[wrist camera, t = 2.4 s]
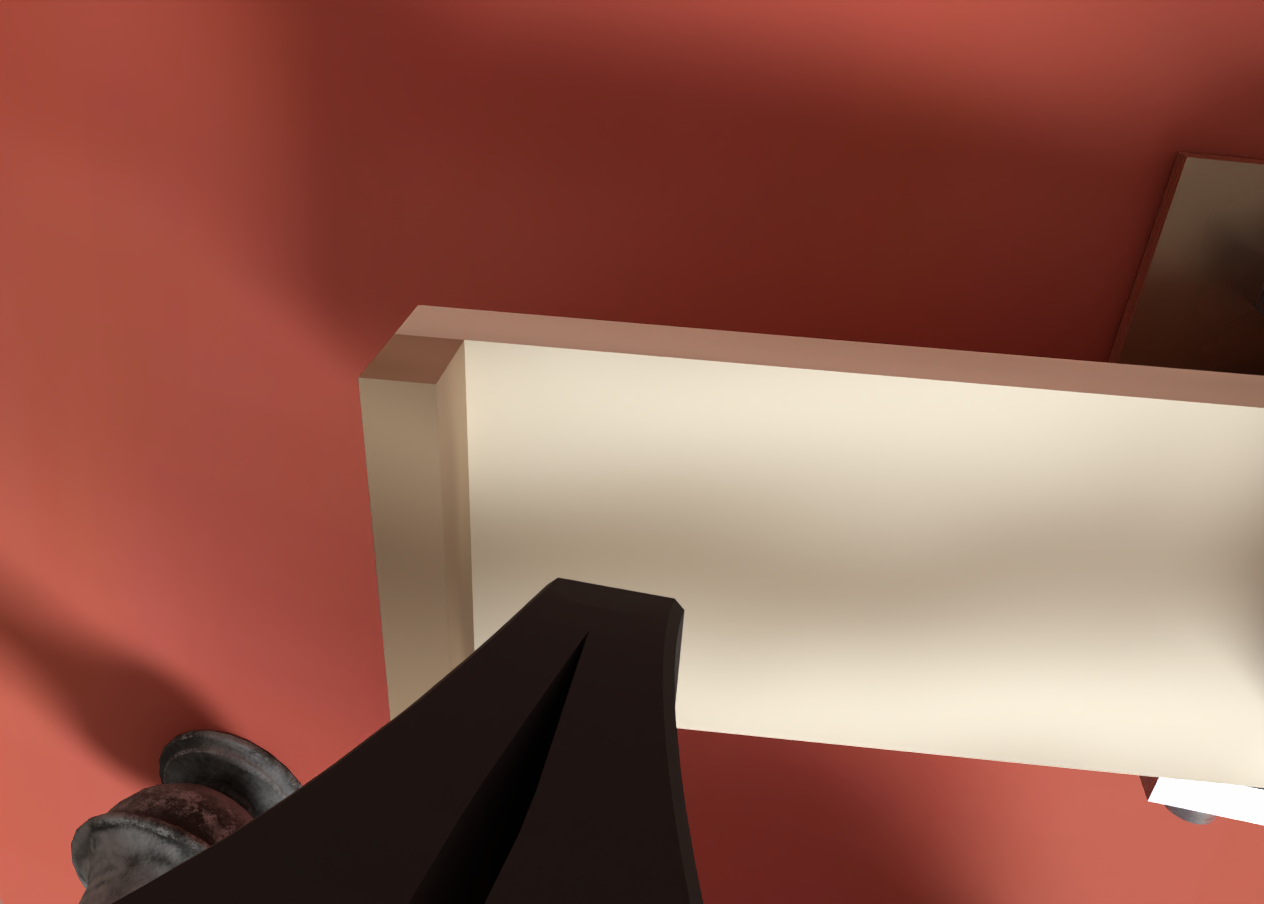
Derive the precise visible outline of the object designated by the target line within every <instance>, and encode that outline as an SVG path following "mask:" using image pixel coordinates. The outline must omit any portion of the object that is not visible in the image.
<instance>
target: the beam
mask: <svg viewBox="0 0 1264 904" xmlns="http://www.w3.org/2000/svg"><path fill="white" fill-rule="evenodd" d="M358 381H359V391H360V402H361V413H362V423H363V434H364V444H365V455H366V466H367V476H368V487H369V497H370V508H371V519H372V529H373V540H374V550H375V561H376V572H377V582H378V593H379V603H380V614H381V625H382V635H383V646H384V656H385V667H386V678H387V688H388V699H389V709H390V720H392V719H394V718H395V717H396V716H398V715H399V714H400V713H402V712H403V711H404V710H405V709H407V708H408V707H409V706H410V705H412V704H413V703H414V702H415V701H416V700H418V699H419V698H420V697H421V696H422V695H424V694H425V693H426V692H427V691H428V690H429V689H431V688H432V687H433V686H434V685H435V684H437V683H438V682H439V681H440V680H441V679H443V678H444V677H445V676H446V675H447V674H448V673H450V672H451V671H452V670H453V669H454V668H456V667H457V666H458V665H459V664H460V663H462V662H463V661H464V660H465V659H466V658H467V657H469V656H470V655H471V654H472V653H473V652H474V651H475V650H476V649H478V648H479V647H480V646H481V645H482V644H483V643H484V642H485V641H487V640H488V639H489V638H490V637H491V636H492V635H493V634H494V633H496V632H497V631H498V630H499V629H500V628H501V627H502V626H503V625H504V624H505V623H506V622H508V621H509V620H510V619H511V618H512V617H513V616H514V615H515V614H516V613H517V612H518V611H519V610H521V609H522V608H523V607H524V606H525V605H526V604H527V603H528V602H529V601H530V600H531V599H532V598H533V597H534V596H535V595H537V594H538V593H539V592H540V591H541V590H542V589H543V588H544V587H545V586H546V585H547V584H549V583H550V582H552V581H553V580H555V579H556V578H558V577H559V578H564V579H570V580H575V581H581V582H586V583H592V584H597V585H603V586H608V587H614V588H620V589H625V590H631V591H636V592H642V593H647V594H653V595H658V596H664V597H669V598H675V599H676V601H677V602H678V603H679V604H680V605H681V606H682V608H683V609H684V610H685V611H684V621H683V631H682V642H681V652H680V662H679V672H678V683H677V693H676V703H675V713H676V727H677V728H681V729H690V730H700V731H710V732H720V733H730V734H739V735H749V736H759V737H769V738H779V739H788V740H798V741H808V742H818V743H828V744H837V745H847V746H857V747H867V748H877V749H886V750H896V751H906V752H916V753H926V754H935V755H945V756H955V757H965V758H975V759H984V760H994V761H1004V762H1014V763H1024V764H1034V765H1043V766H1053V767H1063V768H1073V769H1083V770H1092V771H1102V772H1112V773H1122V774H1132V775H1141V776H1151V777H1161V778H1171V779H1181V780H1190V781H1200V782H1210V783H1220V784H1230V785H1239V786H1249V787H1259V788H1264V376H1260V375H1248V374H1236V373H1225V372H1213V371H1201V370H1189V369H1177V368H1165V367H1153V366H1141V365H1129V364H1117V363H1105V362H1093V361H1081V360H1070V359H1058V358H1046V357H1034V356H1022V355H1010V354H998V353H986V352H974V351H962V350H950V349H938V348H926V347H915V346H903V345H891V344H879V343H867V342H855V341H843V340H831V339H819V338H807V337H795V336H783V335H771V334H760V333H748V332H736V331H724V330H712V329H700V328H688V327H676V326H664V325H652V324H640V323H628V322H616V321H605V320H593V319H581V318H569V317H557V316H545V315H533V314H521V313H509V312H497V311H485V310H473V309H461V308H450V307H438V306H426V305H418V306H417V307H416V308H415V309H414V311H413V312H412V313H411V314H410V315H409V317H408V318H407V319H406V320H405V322H404V323H403V324H402V325H401V326H400V328H399V329H398V330H397V331H396V332H395V334H394V335H393V336H392V337H391V338H390V340H389V341H388V342H387V343H386V345H385V346H384V347H383V348H382V349H381V351H380V352H379V353H378V354H377V355H376V357H375V358H374V359H373V360H372V361H371V363H370V364H369V365H368V366H367V368H366V369H365V370H364V371H363V372H362V374H361V375H360V376H359V377H358Z"/></svg>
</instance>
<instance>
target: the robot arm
mask: <svg viewBox="0 0 1264 904" xmlns="http://www.w3.org/2000/svg"><path fill="white" fill-rule="evenodd" d="M684 611H685V610H684V609H683V608H682V606H681V605H680V604H679V603H678V602H677V601H676V599H675V598H669V597H664V596H658V595H653V594H647V593H642V592H636V591H631V590H625V589H620V588H614V587H608V586H603V585H597V584H592V583H586V582H581V581H575V580H570V579H564V578H559V577H558V578H556V579H555V580H553V581H552V582H550V583H549V584H547V585H546V586H545V587H544V588H543V589H542V590H541V591H540V592H539V593H538V594H537V595H535V596H534V597H533V598H532V599H531V600H530V601H529V602H528V603H527V604H526V605H525V606H524V607H523V608H522V609H521V610H519V611H518V612H517V613H516V614H515V615H514V616H513V617H512V618H511V619H510V620H509V621H508V622H506V623H505V624H504V625H503V626H502V627H501V628H500V629H499V630H498V631H497V632H496V633H494V634H493V635H492V636H491V637H490V638H489V639H488V640H487V641H485V642H484V643H483V644H482V645H481V646H480V647H479V648H478V649H476V650H475V651H474V652H473V653H472V654H471V655H470V656H469V657H467V658H466V659H465V660H464V661H463V662H462V663H460V664H459V665H458V666H457V667H456V668H454V669H453V670H452V671H451V672H450V673H448V674H447V675H446V676H445V677H444V678H443V679H441V680H440V681H439V682H438V683H437V684H435V685H434V686H433V687H432V688H431V689H429V690H428V691H427V692H426V693H425V694H424V695H422V696H421V697H420V698H419V699H418V700H416V701H415V702H414V703H413V704H412V705H410V706H409V707H408V708H407V709H405V710H404V711H403V712H402V713H400V714H399V715H398V716H396V717H395V718H394V719H392V720H391V721H390V722H389V723H387V724H386V725H385V726H383V727H382V728H381V729H379V730H378V731H377V732H375V733H374V734H373V735H371V736H370V737H369V738H367V739H366V740H365V741H363V742H362V743H361V744H360V745H358V746H357V747H356V748H354V749H353V750H352V751H350V752H349V753H348V754H346V755H345V756H344V757H342V758H341V759H340V760H338V761H337V762H336V763H335V764H333V765H332V766H330V767H329V768H328V769H326V770H325V771H323V772H322V773H321V774H319V775H318V776H316V777H315V778H313V779H312V780H311V781H309V782H308V783H306V784H305V785H303V786H302V787H301V788H299V789H298V790H296V791H295V792H293V793H292V794H290V795H289V796H287V797H286V798H285V799H283V800H282V801H280V802H279V803H277V804H276V805H274V806H273V807H271V808H270V809H268V810H267V811H265V812H263V813H262V814H260V815H259V816H257V817H256V818H254V819H253V820H251V821H249V822H248V823H246V824H245V825H243V826H242V827H240V828H239V829H237V830H236V831H234V832H232V833H231V834H229V835H228V836H226V837H225V838H223V839H221V840H220V841H218V842H217V843H215V844H213V845H212V846H210V847H208V848H207V849H205V850H203V851H201V852H200V853H198V854H196V855H195V856H193V857H191V858H190V859H188V860H186V861H185V862H183V863H181V864H179V865H178V866H176V867H174V868H173V869H171V870H169V871H168V872H166V873H164V874H163V875H161V876H159V877H158V878H156V879H154V880H152V881H151V882H149V883H147V884H145V885H144V886H142V887H140V888H138V889H137V890H135V891H133V892H131V893H130V894H128V895H126V896H124V897H122V898H121V899H119V900H117V901H115V902H114V903H112V904H703V900H702V895H701V890H700V886H699V881H698V875H697V870H696V865H695V860H694V855H693V849H692V843H691V837H690V831H689V825H688V819H687V813H686V807H685V800H684V792H683V785H682V778H681V769H680V758H679V748H678V737H677V727H676V713H675V703H676V693H677V683H678V672H679V662H680V652H681V642H682V631H683V621H684Z"/></svg>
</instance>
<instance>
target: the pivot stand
mask: <svg viewBox="0 0 1264 904" xmlns="http://www.w3.org/2000/svg"><path fill="white" fill-rule="evenodd" d="M1107 363H1117V364H1129V365H1141V366H1153V367H1165V368H1177V369H1189V370H1201V371H1213V372H1225V373H1236V374H1248V375H1260V376H1264V160H1262V159H1251V158H1241V157H1230V156H1220V155H1210V154H1199V153H1189V152H1178V154H1177V157H1176V160H1175V163H1174V166H1173V169H1172V171H1171V174H1170V177H1169V180H1168V183H1167V186H1166V189H1165V192H1164V195H1163V198H1162V201H1161V204H1160V207H1159V210H1158V213H1157V216H1156V219H1155V222H1154V225H1153V228H1152V231H1151V234H1150V237H1149V240H1148V243H1147V246H1146V249H1145V252H1144V255H1143V258H1142V261H1141V264H1140V267H1139V270H1138V273H1137V276H1136V279H1135V282H1134V285H1133V288H1132V291H1131V294H1130V297H1129V300H1128V303H1127V306H1126V309H1125V312H1124V315H1123V318H1122V321H1121V324H1120V327H1119V330H1118V333H1117V336H1116V339H1115V342H1114V345H1113V348H1112V351H1111V354H1110V356H1109V359H1108V362H1107ZM1139 776H1140V779H1141V782H1142V785H1143V788H1144V791H1145V794H1146V797H1147V800H1148V801H1150V802H1155V803H1160V804H1164V805H1165V806H1166V808H1167V809H1168V810H1170V811H1171V812H1172V813H1173V814H1175V815H1176V816H1178V817H1179V818H1181V819H1183V820H1186V821H1188V822H1191V823H1195V824H1209V823H1211V822H1213V821H1214V820H1215V818H1216V817H1217V815H1218V816H1223V817H1227V818H1232V819H1237V820H1242V821H1247V822H1252V823H1256V824H1261V825H1264V788H1259V787H1249V786H1239V785H1230V784H1220V783H1210V782H1200V781H1190V780H1181V779H1171V778H1161V777H1151V776H1141V775H1139Z"/></svg>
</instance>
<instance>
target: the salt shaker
mask: <svg viewBox="0 0 1264 904" xmlns="http://www.w3.org/2000/svg"><path fill="white" fill-rule="evenodd" d="M159 774H160V777H161V780H162V783H163V784H161V785H155V786H152V787H148V788H145V789H143V790H141V791H139V792H137V793H135V794H133V795H132V796H130V797H128V798H126V799H124V800H122V801H120V802H119V803H118V804H117V805H115V806H114V807H113V808H112V809H111V810H110V811H109V812H108V813H105V814H102V815H99V816H95V817H92V818H90V819H88V820H87V821H86V822H85V823H84V824H83V825H81V826H80V827H79V828H78V829H77V830H76V833H75V835H74V838H73V840H72V843H71V851H72V863H73V865H74V868H75V870H76V872H77V875H78V877H79V880H80V881H81V882H82V884H83V885H84V887H85V888H86V891H85V893H84V895H83V897H82V899H81V901H80V903H79V904H112V903H114V902H115V901H117V900H119V899H121V898H122V897H124V896H126V895H128V894H130V893H131V892H133V891H135V890H137V889H138V888H140V887H142V886H144V885H145V884H147V883H149V882H151V881H152V880H154V879H156V878H158V877H159V876H161V875H163V874H164V873H166V872H168V871H169V870H171V869H173V868H174V867H176V866H178V865H179V864H181V863H183V862H185V861H186V860H188V859H190V858H191V857H193V856H195V855H196V854H198V853H200V852H201V851H203V850H205V849H207V848H208V847H210V846H212V845H213V844H215V843H217V842H218V841H220V840H221V839H223V838H225V837H226V836H228V835H229V834H231V833H232V832H234V831H236V830H237V829H239V828H240V827H242V826H243V825H245V824H246V823H248V822H249V821H251V820H253V819H254V818H256V817H257V816H259V815H260V814H262V813H263V812H265V811H267V810H268V809H270V808H271V807H273V806H274V805H276V804H277V803H279V802H280V801H282V800H283V799H285V798H286V797H287V796H289V795H290V794H292V793H293V792H295V791H296V790H298V789H299V788H301V787H302V786H301V784H300V783H299V782H298V781H297V779H296V778H295V777H294V776H293V775H292V773H291V772H290V771H289V770H288V769H287V768H286V767H285V766H284V765H283V764H281V763H280V762H279V761H278V760H277V759H276V758H274V757H273V756H272V755H271V754H269V753H268V752H266V751H264V750H263V749H261V748H259V747H257V746H256V745H254V744H252V743H251V742H248V741H246V740H243V739H241V738H238V737H235V736H233V735H230V734H226V733H220V732H215V731H210V730H209V731H190V732H187V733H184V734H181V735H178V736H177V737H175V738H174V739H173V740H172V741H171V742H170V743H168V744H167V745H166V746H165V748H164V750H163V752H162V754H161V757H160V759H159Z"/></svg>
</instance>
